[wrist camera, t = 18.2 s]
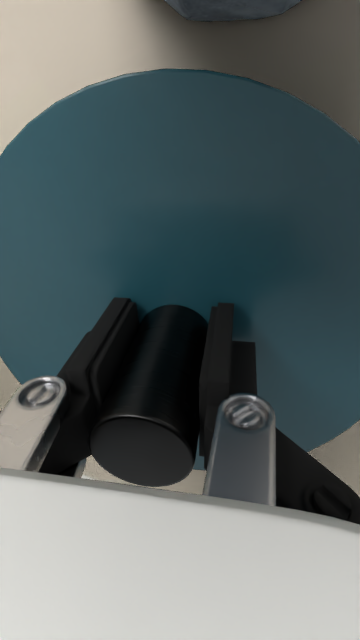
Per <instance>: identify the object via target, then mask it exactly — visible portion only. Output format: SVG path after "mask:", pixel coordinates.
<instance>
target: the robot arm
mask: <svg viewBox="0 0 360 640" xmlns="http://www.w3.org/2000/svg"><path fill="white" fill-rule="evenodd" d="M233 314H234V303H218V307H215V306H212V307H211V313H210V319H209V325H208V331H207V337H206V343H205V348H204V354H203V360H202V366H201V372H200V380H199V419H200V431H199V456H202V457H204V469H205V470H206V471H207V472H206V477H205V483H204V488H203V494H202V495H197V494H190V493H183V492H176V491H169V490H162V489H155V488H148V487H141V486H134V485H126V484H119V483H112V482H105V481H97V480H90V479H82V478H81V476H82V474H83V471H84V468H85V465H86V458H87V457H89V456H90V455H92V454H91V452H90V449H89V444H88V436H89V432H90V430H91V427H92V425H93V423H94V421H95V419H96V417H97V415H98V413H99V411H100V409H101V407H102V404H103V402H104V400H105V398H106V396H107V394H108V392H109V390H110V388H111V386H112V384H113V381H114V379H115V377H116V375H117V373H118V371H119V369H120V367H121V365H122V363H123V360H124V358H125V356H126V354H127V352H128V350H129V348H130V346H131V344H132V342H133V340H134V337H135V335H136V333H137V331H138V329H139V320H138V312H137V304H136V303H135V302H132V301H131V299H130V298H118V297H114V298H113V299H112V301H111V302H110V304H109V305H108V307H107V308H106V310H105V311H104V313H103V314H102V315H101V317H100V318H99V320H98V321H97V323H96V324H95V326H94V327H93V329H92V330H91V331H89V332H87V333H86V334H85V336H84V337H83V339H82V340H81V341H80V343H79V344H78V346H77V347H76V349H75V350H74V351H73V353H72V354H71V356H70V357H69V359H68V360H67V361H66V363H65V364H64V366H63V367H62V369H61V370H60V372H59V373H58V374H57V376H51V375H48V376H40V377H36V378H34V379H31V380H29V381H27V382H26V383H24V384H23V385H21V386H20V387H19V388H18V389H17V390H16V391H15V393H14V394H13V396H12V397H11V398H10V400H9V401H8V403H7V404H6V405H5V407H4V408H3V410H2V411H0V640H360V498H359V496H358V495H357V494H356V493H355V492H354V491H353V490H352V489H351V488H350V487H349V486H348V485H346V484H345V483H344V482H343V481H341V480H340V479H339V478H338V477H336V476H335V475H334V474H333V473H332V472H330V471H329V470H328V469H327V468H325V467H324V466H323V465H322V464H320V463H319V462H318V461H317V460H315V459H314V458H313V457H312V456H311V455H309V454H308V453H307V452H306V451H304V450H303V449H302V448H301V447H299V446H298V445H297V444H296V443H295V442H293V441H292V440H291V439H290V438H288V437H287V436H286V435H285V434H283V433H282V432H281V431H280V430H278V429H277V428H276V417H275V412H274V409H273V408H272V406H271V405H270V403H268V402H267V401H266V400H265V399H263V398H261V397H259V396H257V374H256V347H255V342H245V341H232V331H233Z"/></svg>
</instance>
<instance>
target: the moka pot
mask: <svg viewBox="0 0 360 640" xmlns="http://www.w3.org/2000/svg"><path fill="white" fill-rule="evenodd" d="M164 1H165V2H166V3H168V4H169V5H170V6H171V7H172V8H173V9H174V10H175V11H176V12H177V13H179V14H180V15H181V16H183V17H184V18H186V19H187V20H194V21H209V22H210V21H232V20H240V19H261V18H265V17H270V16H275V15H280V14H282V13H284V12H285V11H287V10H288V9H290V8H291V7H293V6H294V5H296V4H297V3H299V2H300V1H301V0H164Z"/></svg>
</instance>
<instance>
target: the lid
mask: <svg viewBox="0 0 360 640" xmlns="http://www.w3.org/2000/svg"><path fill="white" fill-rule="evenodd" d="M114 297H118V298H130V299H131V301H132V302H135V303H136V304H137V312H138V320H139V329H138V331H137V333H136V335H135V337H134V340H133V342H132V344H131V346H130V348H129V350H128V352H127V354H126V356H125V358H124V360H123V363H122V365H121V367H120V369H119V371H118V373H117V375H116V377H115V379H114V381H113V384H112V386H111V388H110V390H109V392H108V394H107V396H106V398H105V400H104V402H103V404H102V407H101V409H100V411H99V413H98V415H97V417H96V419H95V421H94V423H93V425H92V427H91V430H90V432H89V436H88V444H89V449H90V452H91V454H92V456H93V457H94V459H95V460H96V461H97V462H98V464H99V465H100V466H101V467H103V468H104V469H105V470H106V471H108V472H109V473H111V474H112V475H114V476H116V477H118V478H120V479H122V480H124V481H127V482H130V483H133V484H137V485H142V486H150V487H160V486H168V485H172V484H175V483H177V482H180V481H181V480H183V479H184V478H186V477H187V476H188V475H189V473H190V472H191V471H192V469H195V470H205V469H204V457H202V456H199V431H200V419H199V380H200V372H201V366H202V360H203V354H204V348H205V343H206V337H207V331H208V325H209V319H210V313H211V307H212V306H215V307H218V303H234V314H233V331H232V341H245V342H255V347H256V374H257V396H259V397H261V398H263V399H265V400H266V401H267V402H268V403H270V405H271V406H272V408H273V409H274V412H275V417H276V428H277V429H278V430H280V431H281V432H282V433H283V434H285V435H286V436H287V437H288V438H290V439H291V440H292V441H293V442H295V443H296V444H297V445H298V446H299V447H301V448H302V449H303V450H304V451H306V452H308V451H311V450H313V449H315V448H317V447H319V446H321V445H323V444H325V443H327V442H329V441H330V440H332V439H333V438H335V437H336V436H338V435H340V434H341V433H343V432H344V431H346V430H347V429H349V428H350V427H351V426H352V425H354V424H355V423H356V422H357V421H358V420H360V142H359V141H358V140H357V139H356V138H355V137H353V136H352V135H351V134H350V133H349V132H347V131H346V130H345V129H344V128H342V127H341V126H340V125H339V124H337V123H336V122H335V121H334V120H332V119H331V118H330V117H329V116H327V115H326V114H325V113H323V112H322V111H320V110H318V109H316V108H314V107H313V106H311V105H309V104H307V103H306V102H304V101H302V100H300V99H299V98H297V97H295V96H293V95H291V94H290V93H288V92H285V91H282V90H280V89H277V88H274V87H271V86H269V85H266V84H263V83H261V82H258V81H255V80H252V79H250V78H246V77H241V76H236V75H230V74H225V73H220V72H215V71H210V70H194V69H159V70H151V71H144V72H137V73H130V74H124V75H120V76H117V77H114V78H111V79H108V80H104V81H101V82H98V83H95V84H92V85H89V86H86V87H84V88H82V89H81V90H79V91H77V92H75V93H73V94H71V95H69V96H67V97H65V98H63V99H61V100H59V101H57V102H55V103H54V104H53V105H51V106H50V107H49V108H47V109H46V110H45V111H44V112H42V113H41V114H40V115H38V116H37V117H36V118H34V119H33V120H32V121H30V122H29V123H28V124H27V125H26V126H25V127H24V128H23V129H22V130H21V131H20V133H19V134H18V135H17V136H16V137H15V138H14V139H13V140H12V141H11V142H10V143H9V144H8V145H7V147H6V148H5V150H4V151H3V153H2V154H1V156H0V356H1V358H2V360H3V361H4V363H5V364H6V366H7V367H8V368H9V369H10V371H11V372H12V373H13V375H14V376H15V377H16V379H17V380H18V381H19V382H20V383H21V385H23V384H24V383H26V382H27V381H29V380H31V379H34V378H36V377H40V376H48V375H51V376H57V374H58V373H59V372H60V370H61V369H62V367H63V366H64V364H65V363H66V361H67V360H68V359H69V357H70V356H71V354H72V353H73V351H74V350H75V349H76V347H77V346H78V344H79V343H80V341H81V340H82V339H83V337H84V336H85V334H86V333H87V332H89V331H91V330H92V329H93V327H94V326H95V324H96V323H97V321H98V320H99V318H100V317H101V315H102V314H103V313H104V311H105V310H106V308H107V307H108V305H109V304H110V302H111V301H112V299H113V298H114Z"/></svg>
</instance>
